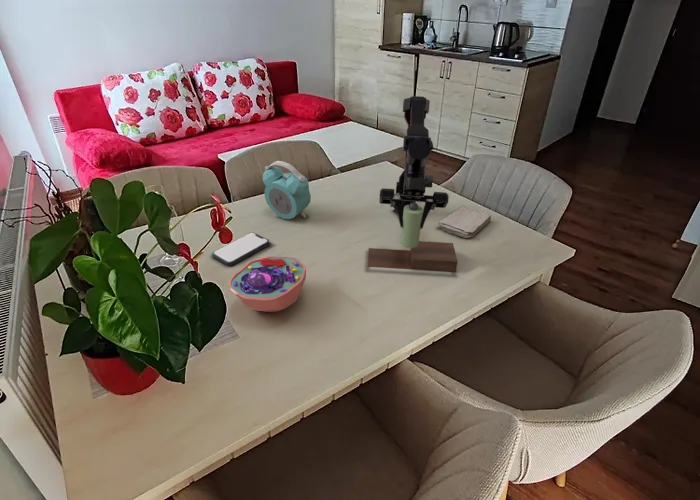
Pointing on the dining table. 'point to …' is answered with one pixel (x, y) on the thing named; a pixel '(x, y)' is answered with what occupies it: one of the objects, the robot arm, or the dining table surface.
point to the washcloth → (464, 222)
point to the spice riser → (416, 257)
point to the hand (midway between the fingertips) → (411, 227)
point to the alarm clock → (286, 191)
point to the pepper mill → (411, 225)
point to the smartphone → (240, 249)
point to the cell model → (269, 283)
